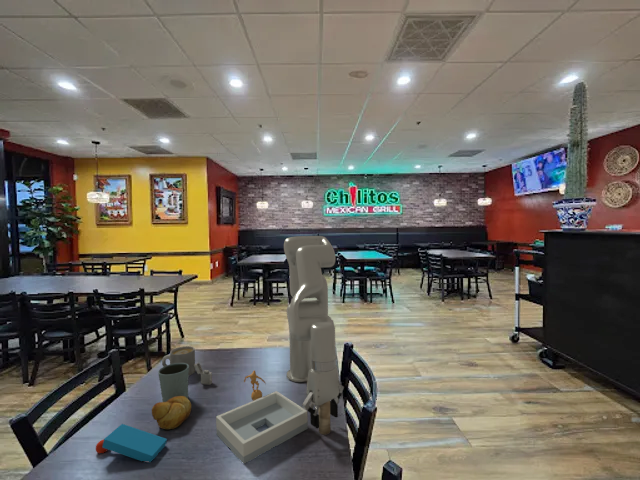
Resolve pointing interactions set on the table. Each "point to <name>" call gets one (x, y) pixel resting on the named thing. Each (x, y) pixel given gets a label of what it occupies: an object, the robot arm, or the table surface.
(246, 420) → the tray
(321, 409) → the peg
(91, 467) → the table surface
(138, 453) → the lever
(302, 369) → the robot arm
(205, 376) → the lighter
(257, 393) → the figurine
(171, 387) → the green cup
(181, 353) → the coffee mug
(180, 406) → the bread roll
